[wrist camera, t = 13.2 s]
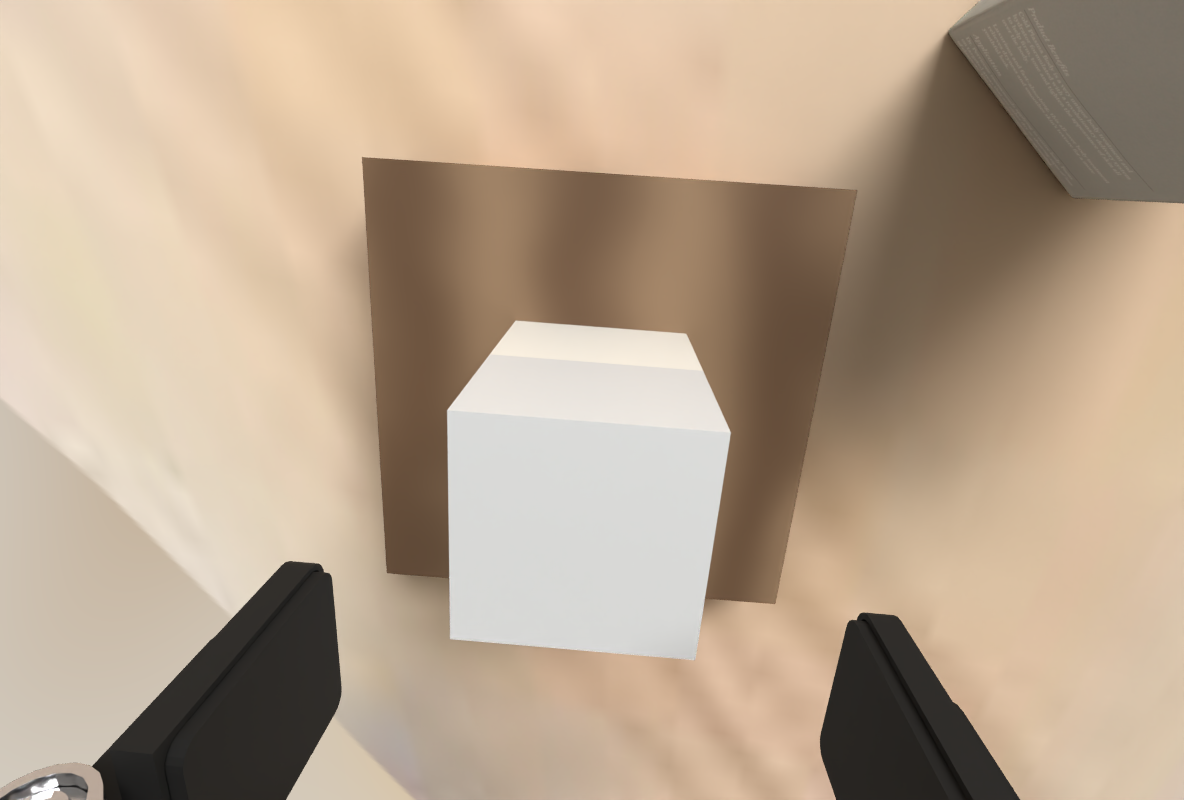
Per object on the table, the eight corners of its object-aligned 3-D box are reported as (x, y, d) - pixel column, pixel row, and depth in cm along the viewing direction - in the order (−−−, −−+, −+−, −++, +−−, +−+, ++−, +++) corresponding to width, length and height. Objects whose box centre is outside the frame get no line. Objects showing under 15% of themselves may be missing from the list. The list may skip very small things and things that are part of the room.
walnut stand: (818, 189, 23) (857, 190, 19) (754, 548, 29) (775, 604, 25) (403, 161, 24) (362, 157, 20) (417, 522, 29) (387, 572, 25)
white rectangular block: (686, 333, 21) (731, 432, 13) (667, 486, 23) (695, 659, 15) (515, 320, 21) (446, 409, 13) (511, 474, 23) (450, 639, 15)
